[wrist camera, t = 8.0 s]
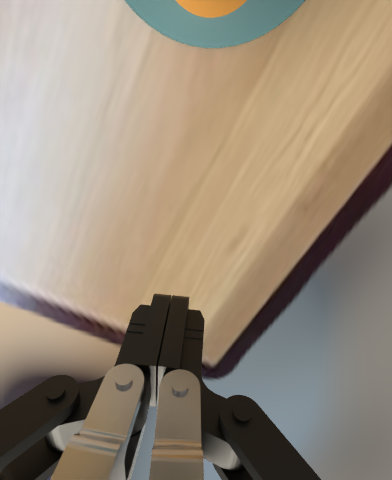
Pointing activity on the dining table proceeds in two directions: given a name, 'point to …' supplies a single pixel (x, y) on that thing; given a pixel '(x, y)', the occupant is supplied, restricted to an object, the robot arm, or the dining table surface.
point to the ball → (210, 7)
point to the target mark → (214, 21)
